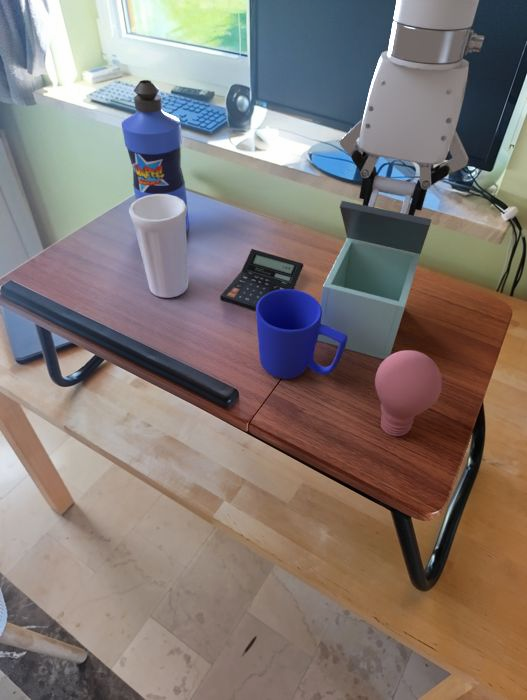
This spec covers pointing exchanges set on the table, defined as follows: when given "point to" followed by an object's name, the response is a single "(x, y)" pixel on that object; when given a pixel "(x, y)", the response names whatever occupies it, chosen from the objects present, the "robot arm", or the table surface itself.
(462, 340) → the table surface
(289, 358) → the mug
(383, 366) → the light bulb
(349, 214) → the lid
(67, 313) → the table surface
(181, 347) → the table surface
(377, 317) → the mint green open box
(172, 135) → the blue bottle
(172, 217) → the cup
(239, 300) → the calculator
